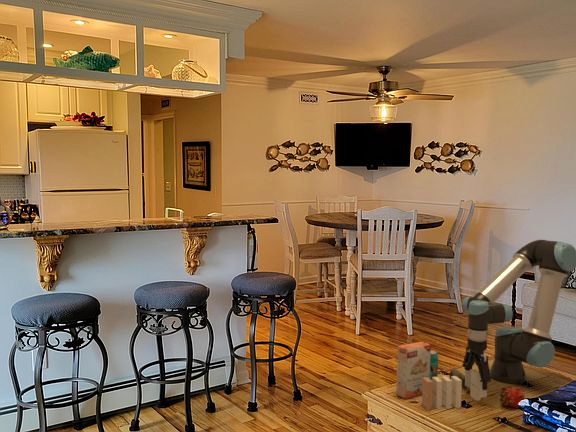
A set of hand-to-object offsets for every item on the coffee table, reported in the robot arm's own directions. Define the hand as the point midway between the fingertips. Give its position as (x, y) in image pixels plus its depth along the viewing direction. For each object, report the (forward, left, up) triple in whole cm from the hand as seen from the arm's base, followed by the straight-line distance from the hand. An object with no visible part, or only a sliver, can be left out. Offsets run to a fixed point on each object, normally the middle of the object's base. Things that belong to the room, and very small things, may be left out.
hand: (475, 391), depth 224 cm
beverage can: (+13, -15, -3) cm, 20 cm away
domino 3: (+15, +6, -3) cm, 17 cm away
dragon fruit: (-11, +9, -3) cm, 15 cm away
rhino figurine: (0, -14, -3) cm, 14 cm away
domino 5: (0, 0, -3) cm, 3 cm away
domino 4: (+11, +6, -3) cm, 13 cm away
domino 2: (+19, +6, -3) cm, 21 cm away
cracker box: (+24, -7, -3) cm, 25 cm away
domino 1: (+23, +6, -3) cm, 24 cm away
